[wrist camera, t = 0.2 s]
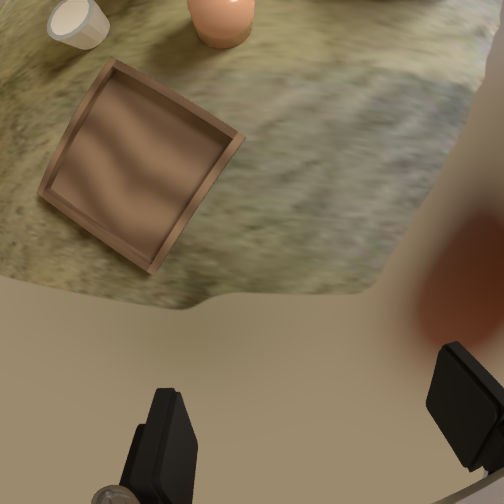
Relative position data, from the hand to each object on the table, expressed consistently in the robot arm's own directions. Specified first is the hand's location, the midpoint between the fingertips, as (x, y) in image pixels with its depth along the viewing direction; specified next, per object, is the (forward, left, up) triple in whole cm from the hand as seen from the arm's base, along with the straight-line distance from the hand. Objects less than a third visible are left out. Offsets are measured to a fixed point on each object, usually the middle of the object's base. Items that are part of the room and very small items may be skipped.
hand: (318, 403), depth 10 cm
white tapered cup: (-9, -35, -31) cm, 47 cm away
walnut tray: (+3, -18, -31) cm, 36 cm away
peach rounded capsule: (-18, -19, -31) cm, 40 cm away
